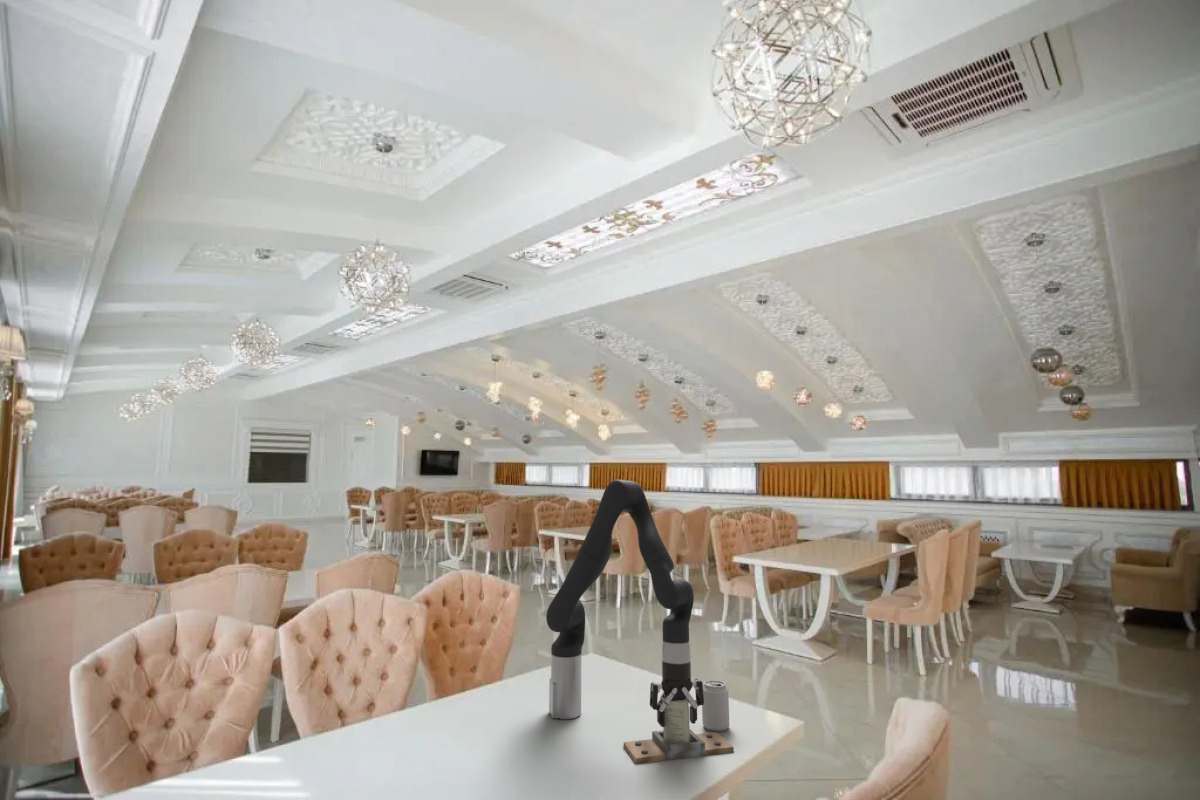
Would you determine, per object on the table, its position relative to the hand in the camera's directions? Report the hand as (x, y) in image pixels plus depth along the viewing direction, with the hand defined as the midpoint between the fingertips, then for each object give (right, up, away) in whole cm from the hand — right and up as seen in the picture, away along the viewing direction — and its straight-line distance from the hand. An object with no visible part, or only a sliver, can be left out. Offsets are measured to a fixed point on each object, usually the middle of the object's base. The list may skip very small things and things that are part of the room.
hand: (677, 724), depth 155 cm
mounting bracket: (0, -6, -1) cm, 6 cm away
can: (+13, -9, +13) cm, 20 cm away
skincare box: (0, -6, -1) cm, 6 cm away
